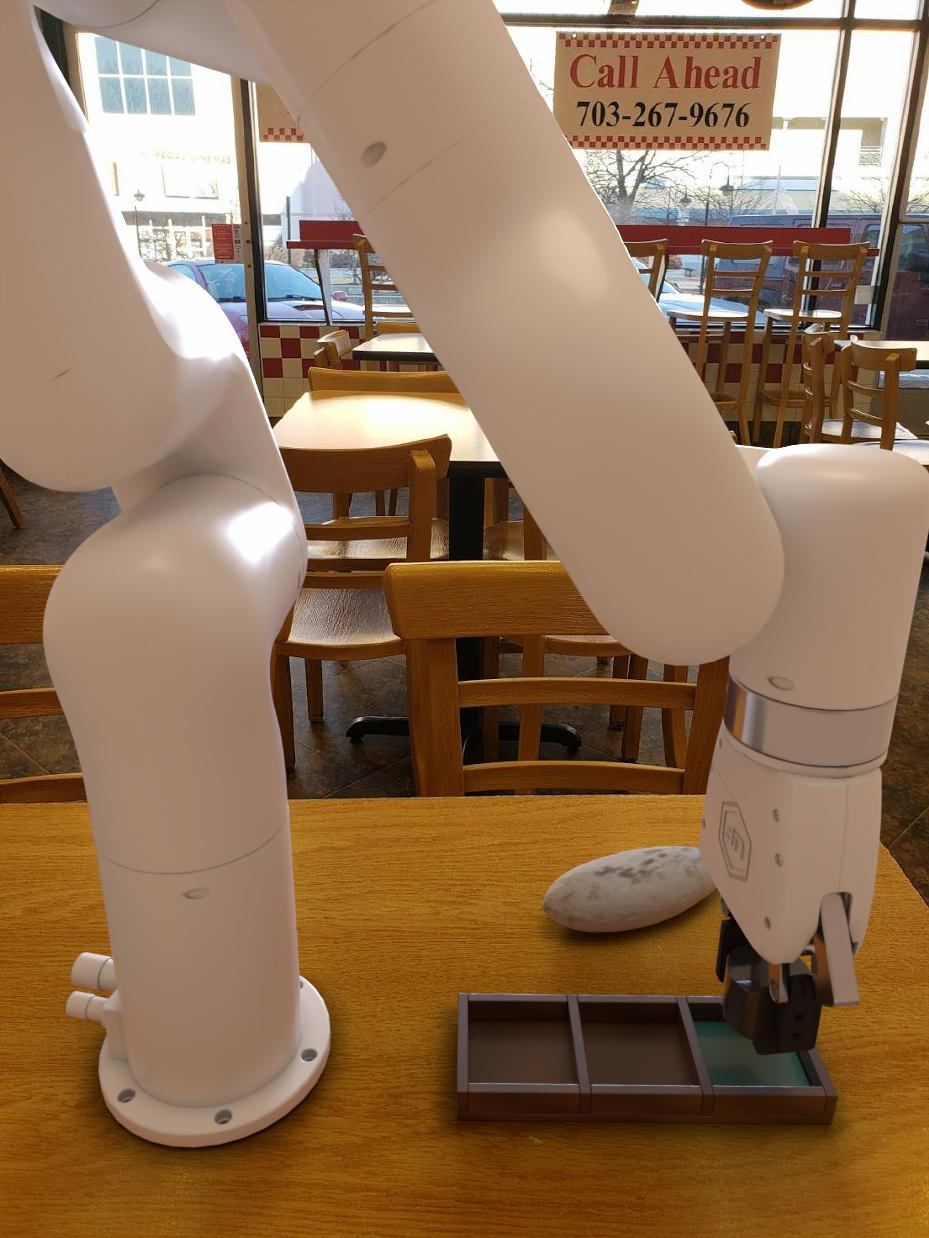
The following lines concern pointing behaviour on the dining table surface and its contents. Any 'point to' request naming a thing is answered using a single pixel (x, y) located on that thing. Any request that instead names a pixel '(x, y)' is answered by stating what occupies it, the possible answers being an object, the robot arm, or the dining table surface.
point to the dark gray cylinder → (747, 986)
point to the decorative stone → (629, 889)
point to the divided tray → (626, 1063)
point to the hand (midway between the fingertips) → (762, 1008)
